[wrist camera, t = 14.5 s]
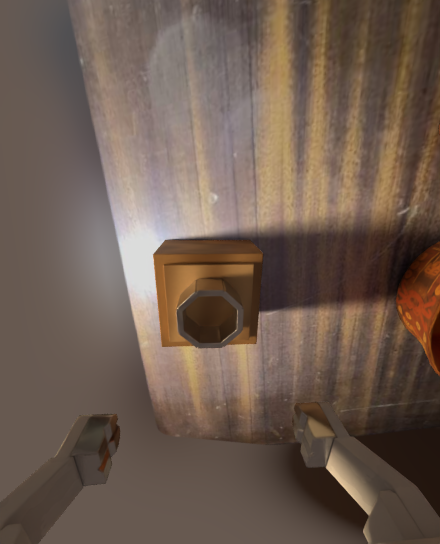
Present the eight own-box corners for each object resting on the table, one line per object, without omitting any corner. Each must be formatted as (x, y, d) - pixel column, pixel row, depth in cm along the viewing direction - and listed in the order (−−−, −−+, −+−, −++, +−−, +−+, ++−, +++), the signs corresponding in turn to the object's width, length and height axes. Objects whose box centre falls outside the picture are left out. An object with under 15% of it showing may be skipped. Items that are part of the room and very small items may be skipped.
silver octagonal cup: (181, 331, 24) (178, 349, 21) (178, 278, 22) (174, 291, 19) (237, 329, 25) (241, 347, 22) (239, 277, 23) (244, 289, 20)
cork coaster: (169, 339, 25) (169, 342, 25) (164, 263, 22) (163, 265, 22) (248, 337, 26) (249, 339, 25) (253, 262, 23) (254, 264, 22)
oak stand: (170, 315, 32) (161, 347, 25) (165, 240, 28) (152, 254, 22) (246, 313, 33) (256, 343, 26) (250, 239, 29) (263, 253, 22)
